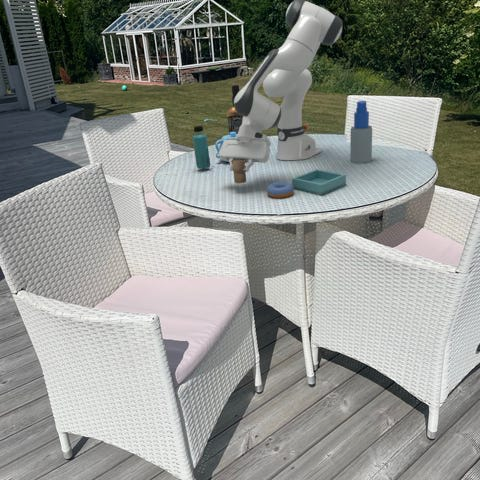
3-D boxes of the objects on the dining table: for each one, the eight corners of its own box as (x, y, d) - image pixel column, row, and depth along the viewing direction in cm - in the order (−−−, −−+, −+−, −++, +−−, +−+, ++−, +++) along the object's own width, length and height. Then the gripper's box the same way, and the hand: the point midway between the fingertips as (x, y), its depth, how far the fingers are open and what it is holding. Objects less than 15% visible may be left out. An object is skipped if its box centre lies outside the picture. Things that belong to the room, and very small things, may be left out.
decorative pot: (212, 164, 214) (208, 135, 209) (229, 155, 227) (226, 128, 221) (242, 165, 207) (239, 136, 201) (257, 156, 219) (255, 128, 213)
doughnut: (261, 196, 164) (261, 184, 162) (275, 189, 172) (275, 178, 170) (285, 202, 159) (285, 190, 157) (298, 194, 167) (299, 183, 165)
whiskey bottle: (252, 145, 242) (247, 83, 229) (248, 150, 233) (242, 85, 220) (233, 146, 245) (227, 84, 231) (229, 150, 236) (222, 87, 223)
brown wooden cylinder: (241, 178, 174) (239, 158, 171) (248, 180, 171) (246, 160, 168) (232, 181, 172) (230, 161, 168) (239, 183, 168) (237, 163, 165)
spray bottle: (351, 158, 200) (352, 100, 190) (372, 157, 197) (373, 99, 187) (349, 163, 193) (349, 103, 182) (370, 163, 190) (372, 102, 179)
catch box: (317, 179, 177) (316, 169, 176) (345, 185, 167) (345, 174, 166) (292, 188, 170) (292, 178, 168) (321, 195, 160) (321, 185, 158)
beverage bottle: (209, 171, 202) (203, 127, 194) (195, 172, 204) (188, 128, 196) (212, 167, 208) (207, 124, 200) (199, 168, 210) (193, 125, 201)
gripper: (221, 133, 174) (211, 165, 171) (269, 134, 165) (259, 168, 162) (228, 142, 180) (218, 172, 176) (274, 143, 171) (265, 176, 167)
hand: (238, 170), depth 169 cm, fingers closed on brown wooden cylinder, 4 cm apart
